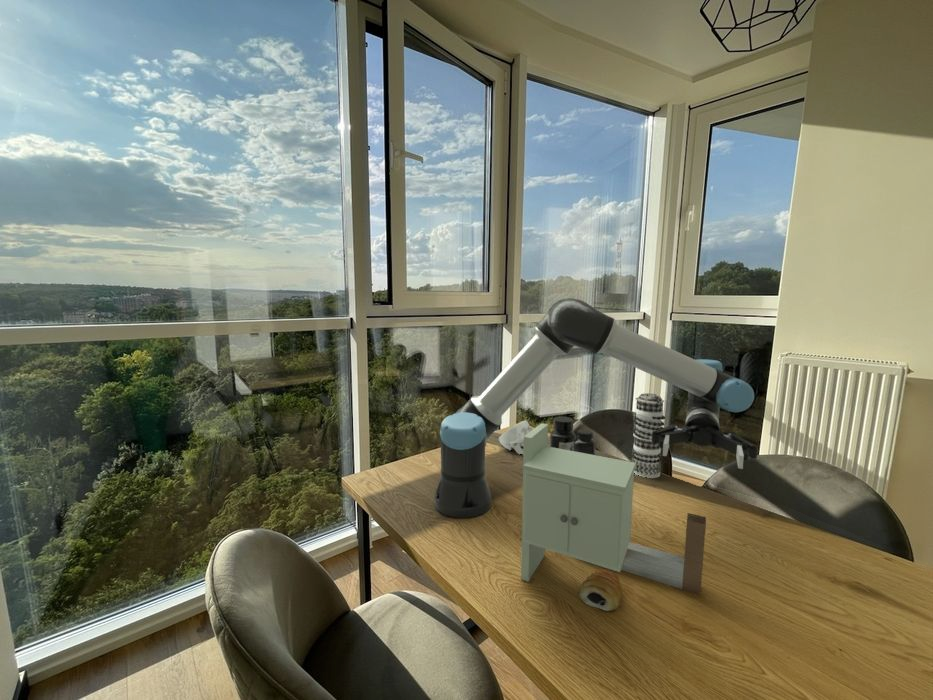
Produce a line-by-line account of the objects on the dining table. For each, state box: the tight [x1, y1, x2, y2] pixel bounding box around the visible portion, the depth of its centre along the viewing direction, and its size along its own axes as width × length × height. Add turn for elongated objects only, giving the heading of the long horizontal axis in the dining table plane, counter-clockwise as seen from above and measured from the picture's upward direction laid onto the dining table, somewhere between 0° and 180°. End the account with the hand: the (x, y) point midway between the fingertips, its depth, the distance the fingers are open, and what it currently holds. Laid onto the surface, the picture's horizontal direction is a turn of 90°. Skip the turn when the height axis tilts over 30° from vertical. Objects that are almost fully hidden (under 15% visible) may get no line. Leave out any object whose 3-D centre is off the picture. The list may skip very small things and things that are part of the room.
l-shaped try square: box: [620, 512, 707, 596], centre depth 83 cm, size 24×3×14 cm, turn 60°
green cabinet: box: [520, 422, 636, 583], centre depth 76 cm, size 19×14×29 cm
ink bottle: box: [549, 416, 577, 451], centre depth 146 cm, size 10×9×12 cm
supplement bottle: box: [573, 429, 597, 455], centre depth 133 cm, size 7×7×12 cm
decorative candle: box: [630, 392, 666, 479], centre depth 128 cm, size 9×9×25 cm
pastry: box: [579, 569, 623, 612], centre depth 76 cm, size 9×7×4 cm
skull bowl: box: [498, 420, 533, 455], centre depth 149 cm, size 10×14×12 cm
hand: (701, 455), depth 85 cm, fingers open, 13 cm apart
